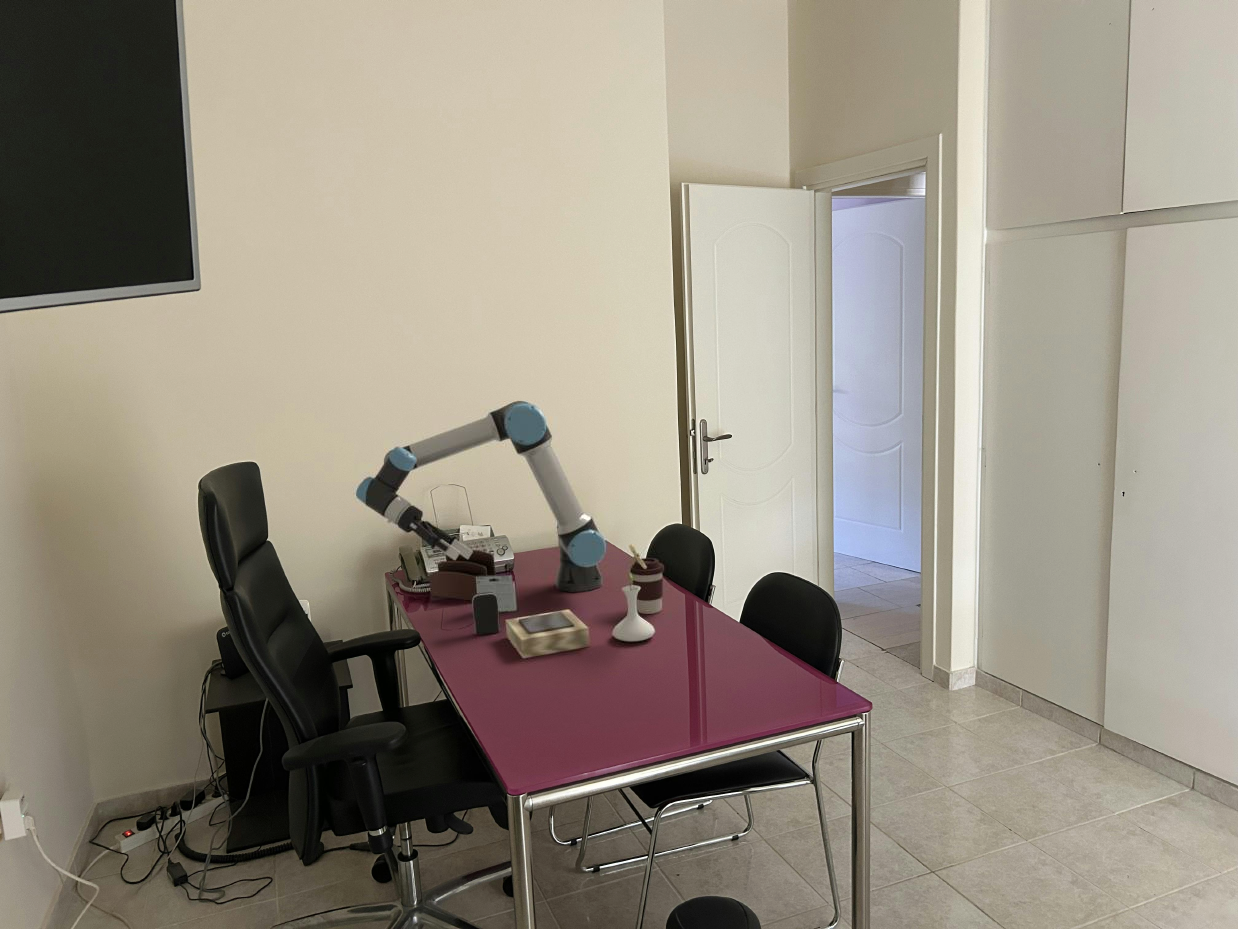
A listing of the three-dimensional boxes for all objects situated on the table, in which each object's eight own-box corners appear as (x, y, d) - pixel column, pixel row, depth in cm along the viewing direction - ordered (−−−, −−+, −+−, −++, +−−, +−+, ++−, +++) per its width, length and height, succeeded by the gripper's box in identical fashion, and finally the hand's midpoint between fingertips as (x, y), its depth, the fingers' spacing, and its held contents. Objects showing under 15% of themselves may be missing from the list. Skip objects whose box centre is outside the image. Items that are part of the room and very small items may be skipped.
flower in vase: (651, 645, 237) (646, 552, 233) (608, 645, 239) (602, 552, 235) (659, 629, 249) (654, 540, 246) (618, 628, 252) (613, 540, 248)
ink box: (517, 609, 275) (514, 572, 273) (515, 612, 272) (512, 574, 270) (479, 610, 276) (476, 573, 274) (477, 613, 273) (474, 575, 272)
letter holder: (450, 588, 303) (446, 546, 301) (498, 593, 293) (495, 550, 291) (430, 596, 294) (426, 554, 292) (479, 602, 285) (475, 558, 282)
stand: (569, 626, 256) (568, 607, 255) (589, 646, 239) (588, 625, 238) (506, 637, 250) (505, 617, 249) (523, 658, 233) (521, 637, 232)
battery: (498, 628, 258) (495, 589, 256) (500, 632, 254) (497, 593, 252) (474, 632, 256) (470, 592, 254) (475, 636, 252) (471, 596, 250)
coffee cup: (627, 614, 263) (624, 564, 261) (639, 604, 272) (636, 555, 270) (659, 617, 259) (657, 566, 257) (670, 606, 268) (668, 557, 266)
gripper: (411, 526, 275) (468, 565, 273) (382, 525, 251) (444, 568, 248) (425, 506, 275) (482, 544, 273) (396, 502, 251) (459, 544, 248)
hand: (464, 555), depth 260 cm, fingers open, 13 cm apart
